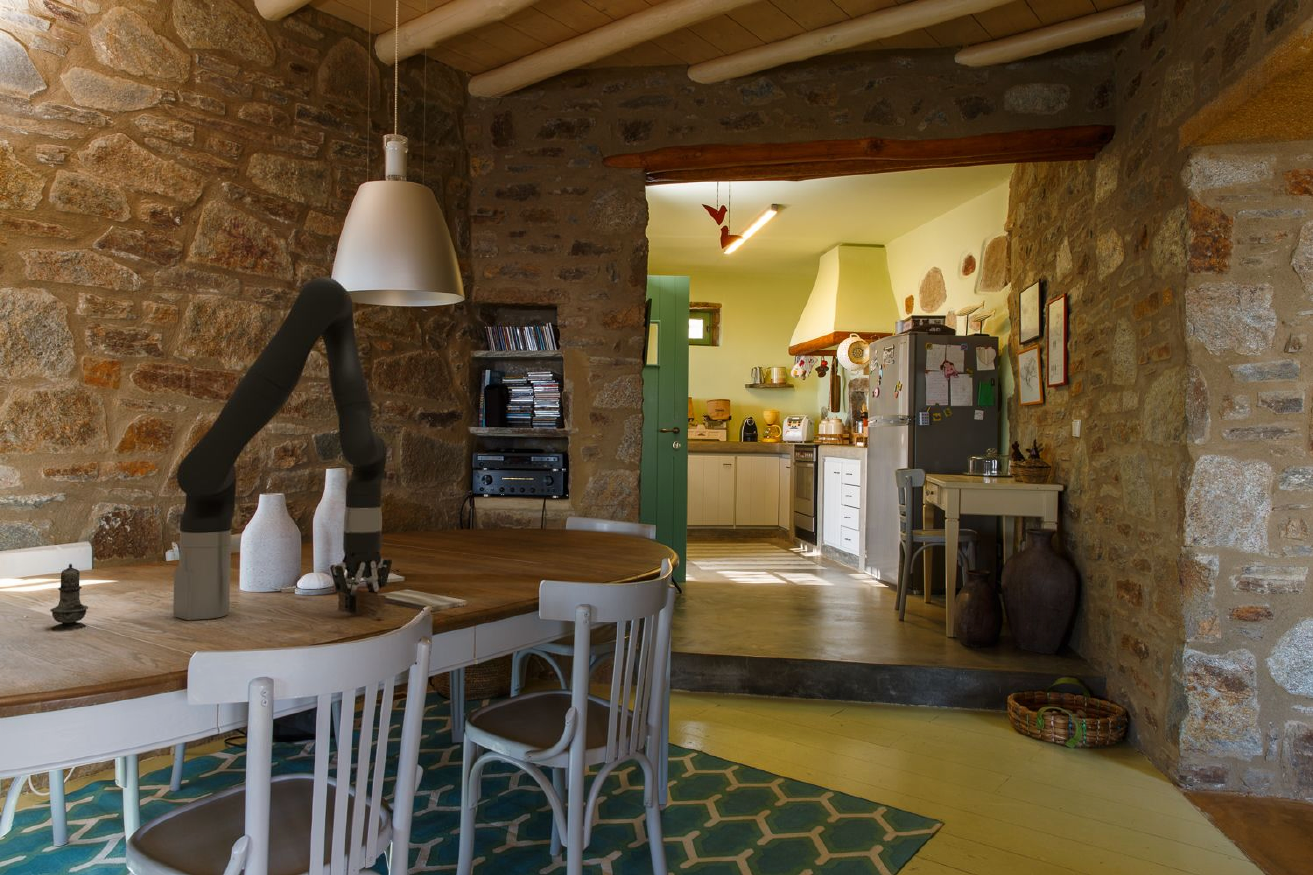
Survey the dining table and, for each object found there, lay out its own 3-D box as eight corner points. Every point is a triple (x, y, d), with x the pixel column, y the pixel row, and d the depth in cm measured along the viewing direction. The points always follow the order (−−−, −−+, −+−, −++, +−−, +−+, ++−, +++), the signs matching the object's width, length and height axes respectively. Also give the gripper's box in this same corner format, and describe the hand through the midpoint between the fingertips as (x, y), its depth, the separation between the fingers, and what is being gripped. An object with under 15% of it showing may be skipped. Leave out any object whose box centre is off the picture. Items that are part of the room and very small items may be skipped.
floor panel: (431, 611, 182) (431, 607, 182) (371, 599, 193) (371, 595, 193) (466, 604, 190) (466, 600, 190) (406, 593, 202) (407, 589, 202)
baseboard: (268, 588, 207) (282, 595, 199) (268, 576, 207) (282, 583, 199) (388, 577, 226) (404, 583, 219) (388, 566, 226) (405, 571, 219)
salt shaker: (55, 624, 162) (56, 561, 162) (91, 623, 164) (92, 560, 164) (45, 631, 156) (46, 566, 156) (83, 630, 159) (84, 565, 159)
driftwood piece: (332, 610, 181) (332, 587, 181) (340, 609, 183) (341, 585, 183) (377, 621, 172) (378, 596, 172) (386, 619, 174) (387, 595, 174)
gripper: (379, 524, 186) (377, 603, 186) (321, 529, 174) (319, 613, 174) (402, 527, 182) (400, 608, 182) (344, 532, 170) (342, 619, 170)
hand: (360, 610), depth 178 cm, fingers open, 4 cm apart
